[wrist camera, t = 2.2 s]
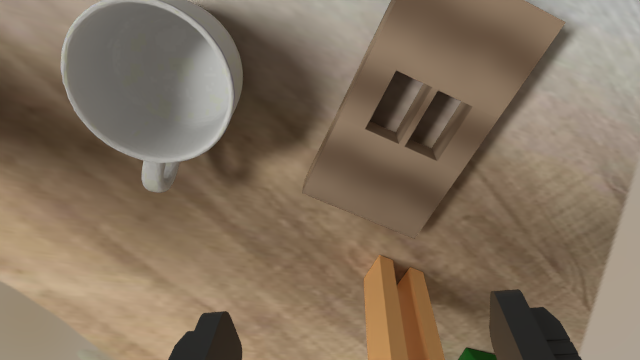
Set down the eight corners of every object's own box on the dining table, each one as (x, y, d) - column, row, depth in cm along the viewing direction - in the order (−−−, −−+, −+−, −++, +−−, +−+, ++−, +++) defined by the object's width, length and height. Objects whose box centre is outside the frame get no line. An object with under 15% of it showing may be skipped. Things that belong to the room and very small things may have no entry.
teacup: (133, -35, 29) (65, -36, 22) (274, 23, 30) (251, 40, 23) (110, 130, 35) (51, 171, 28) (227, 173, 37) (198, 222, 30)
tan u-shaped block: (405, 295, 42) (430, 429, 30) (363, 278, 42) (370, 409, 29) (423, 272, 41) (456, 404, 28) (379, 254, 40) (393, 382, 28)
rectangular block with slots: (410, 223, 38) (414, 239, 36) (304, 179, 36) (302, 193, 34) (548, 18, 29) (565, 22, 27) (416, -52, 27) (422, -54, 25)
